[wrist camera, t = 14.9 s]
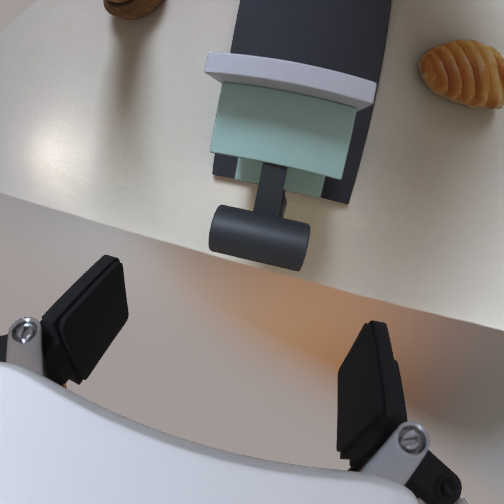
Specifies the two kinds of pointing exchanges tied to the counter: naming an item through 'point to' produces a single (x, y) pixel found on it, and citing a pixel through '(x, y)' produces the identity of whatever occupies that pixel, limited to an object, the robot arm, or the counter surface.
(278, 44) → the iron mat
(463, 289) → the counter surface
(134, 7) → the mortar and pestle
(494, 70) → the pastry
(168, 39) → the counter surface
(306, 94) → the iron
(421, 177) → the counter surface
